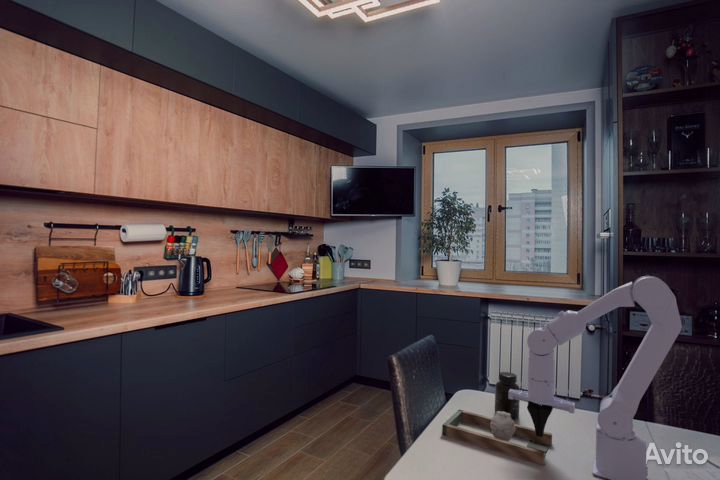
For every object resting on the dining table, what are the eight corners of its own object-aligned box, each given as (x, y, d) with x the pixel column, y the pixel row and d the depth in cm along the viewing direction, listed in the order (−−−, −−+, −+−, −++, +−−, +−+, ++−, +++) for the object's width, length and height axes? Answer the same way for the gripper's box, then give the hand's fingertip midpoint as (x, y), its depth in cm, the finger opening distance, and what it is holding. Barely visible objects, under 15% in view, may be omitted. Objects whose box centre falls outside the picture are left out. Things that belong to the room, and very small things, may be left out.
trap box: (551, 443, 100) (552, 433, 100) (543, 465, 90) (543, 454, 90) (458, 418, 113) (459, 409, 113) (442, 434, 103) (442, 424, 103)
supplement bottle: (521, 421, 112) (522, 379, 113) (496, 418, 114) (497, 376, 114) (516, 411, 119) (517, 371, 119) (493, 409, 120) (494, 369, 121)
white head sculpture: (517, 438, 102) (517, 411, 102) (512, 450, 96) (513, 421, 96) (492, 432, 105) (493, 405, 105) (486, 443, 99) (487, 415, 99)
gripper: (576, 380, 95) (575, 437, 95) (513, 368, 103) (512, 421, 103) (573, 388, 90) (572, 449, 89) (506, 375, 98) (505, 431, 97)
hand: (539, 435), depth 96 cm, fingers closed
